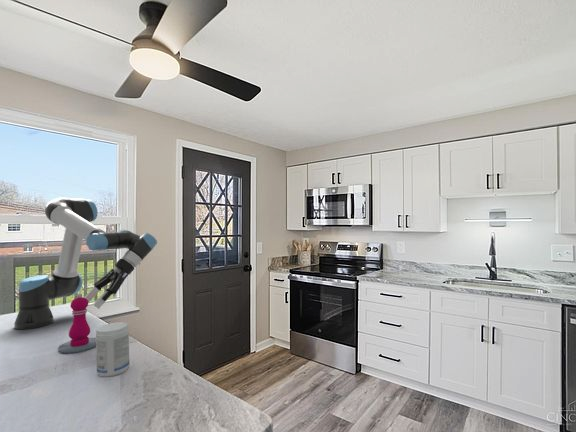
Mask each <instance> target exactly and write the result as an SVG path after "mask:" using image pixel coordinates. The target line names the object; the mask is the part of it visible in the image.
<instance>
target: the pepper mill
mask: <svg viewBox="0 0 576 432" xmlns="http://www.w3.org/2000/svg"><path fill="white" fill-rule="evenodd" d="M84 297H85V296H84ZM84 297H83V294H82V293H77V294H76V297H75V298H74V299H72V301H71V302H70V308H71V309H72V311H71V312H72V313H71V314H72V315H73V319H72V324H71V326H70V328H69V331H68V337H69V338H70V339H71V340H69V341H70V346H72V347H77V346H82V345H85V344H87V343H89V338H90V337H89V335H90V333H91V328H90V325H89V323H88V321H87V313H88V308H87V307H88V306H89V303H88V300H87V299H86V298H84Z"/></svg>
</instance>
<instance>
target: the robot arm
mask: <svg viewBox="0 0 576 432" xmlns="http://www.w3.org/2000/svg"><path fill="white" fill-rule="evenodd" d="M44 208H45V209H44V214H45V216H46V218H47V219H48V220H49V221H51V222H52V223H53V224H55V225H60V226H62V227H64V228H65V231H64V236H63V240H62V245H61V251H60V253H59V258H58V264H57V268H56V269H54V270H53V272H52V275H51V276H49V275H48V274H39V275H35V276H30V277H27V278H23V279H22V280H21V281H20V282H19V285H18V313H17V315H16V319H15V320H14V324H13V325H14V327H13V328H14V329H16V330H28V329H29V330H30V329H36V328H40V327H44V326H48V325H50V324H52V323H53V322H54V315H53V313H52V310H51V308H50V301H52V300H57V299H60V298H68V297H71V296H74V295H77V294H79V292H80V291H81V289H82V287H83V280H82V279H83V277H82V276H81V274H80V272H79V271H78V264H79V260H80V256H81V252H82V251H81V250H82V247H83V241H85V242H86V243H85V244H86V247H87V248H88V250H90V251H92V252H95V251H96V252H102V251H109V250H121V249H126V250H127V249H128V250H127V251H126V252H124V254H123V255H122V256H121V258H119V260H117V262H116V263H114V266H115V267H116V268H115V269H114V268H112V269H110V270H109V271H108V272H107V273H106V274H105V275H104V276H102V277H100V278H99V280H97V281H96V282H95V283H94V284H93V285H94V287H92V288H91V289H90V291H89V292H88V293H87V294H86V295H85V296H84V298H86V299H87V300H88V304H89V303H90V302H91V301H92V300H93V299H94V298H95V296H97V294H98V293H99V292H101V291H102V288H104V287H105V286H107V285H108V284H109V286H108V288H107V289H105V291H104V292H103V293H102V294H101V295H100V296H99V297H98V298H97V299H96V300H95V302H94V303H93V304H92V305H93V306H94V307H96V308H97V309H98V310H99V309H100V308H101V307H102V306H103V305H104V304H105V302H107V301H108V299H109V298H110V297H111V296H112V295H115V294H117V293H118V292H119V290H120V288H121V287H122V285H123V283H124V281H125V280H126V279H127V277H128V276H129V275H131V274H132V272H133V271H134V270H135V268H137V267H138V266H140V265H141V262H143V260H144V259H145V258H146V257H147V256H148V255H149V254H150V252H151V251H153V249H154V248H155V246H157V244H158V240H157V239H156V237H155V236H154V235H152V234H151V233H148V232H145V233H143V234H142V235H138V234H137V233H135V232H132V231H131V230H127V229H120V230H118V231H117V232H106V231H105V230H103V229H101V228H100V227H98V226H96V225H95V224H93V223H91V222H95V220H97V217H98V208H97V205H96V203H95V202H94V201H93V200H91V199H87V198H86V199H85V198H70V197H58V198H55V199H52V200H51V201H49V202H48V203H47V205H46V206H45V207H44Z"/></svg>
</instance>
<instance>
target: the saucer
mask: <svg viewBox="0 0 576 432" xmlns="http://www.w3.org/2000/svg"><path fill="white" fill-rule="evenodd" d="M70 341H71V340H69V341H66V342H64V343H62V344H59V346H58V347H57V352H58V353H59V354H60V353H61V354H64V355H65V354H67V355H68V354H77V353H82V352H86V351H89V350H92V349H94V348H96V337H89V343H87V344H85V345H82V346H77V347H72V346H70Z"/></svg>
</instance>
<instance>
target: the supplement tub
mask: <svg viewBox="0 0 576 432" xmlns="http://www.w3.org/2000/svg"><path fill="white" fill-rule="evenodd" d="M129 331H130V330H129V323H127V322H121V321H119V322H110V323H107V324H102V325H101V326H98V327H96V331H95V338H96V347H95V350H96V352H95V354H96V359H95V360H96V374H97V375H98V376H99V377H101V378H103V377H106V378H109V377H114V376H117V375H120V374H123V373H124V372H125V371H127V370H128V369H129V368H130V338H129V337H130V336H129Z"/></svg>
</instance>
